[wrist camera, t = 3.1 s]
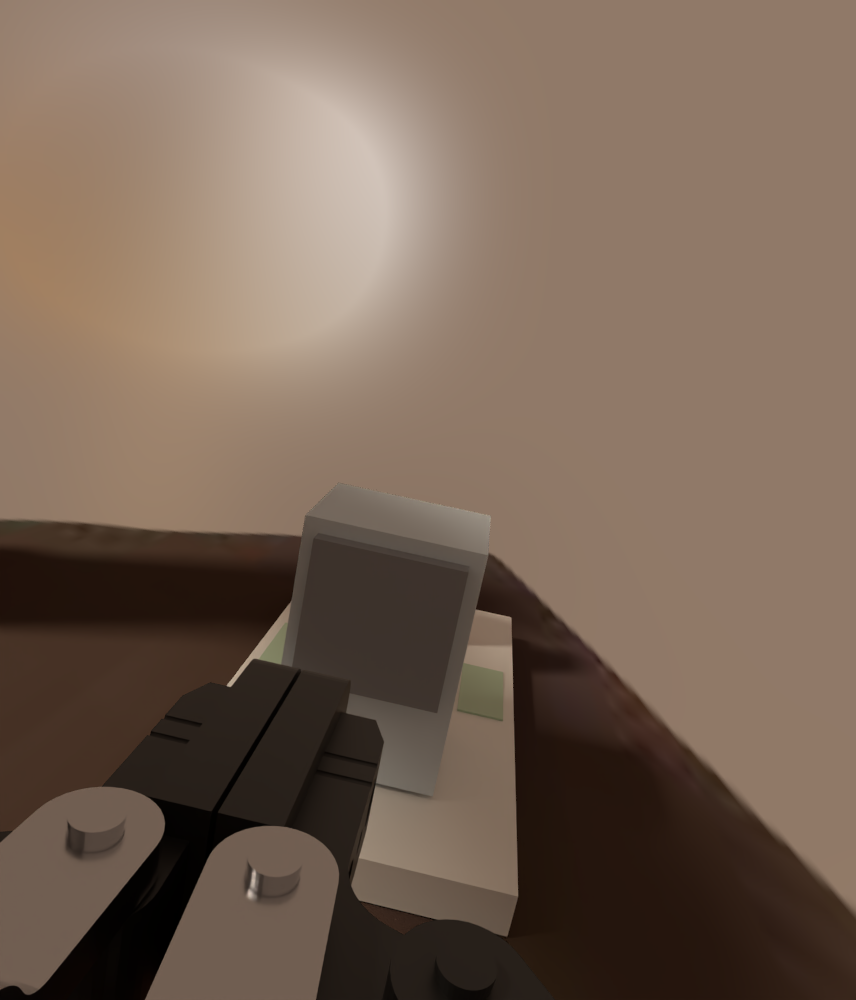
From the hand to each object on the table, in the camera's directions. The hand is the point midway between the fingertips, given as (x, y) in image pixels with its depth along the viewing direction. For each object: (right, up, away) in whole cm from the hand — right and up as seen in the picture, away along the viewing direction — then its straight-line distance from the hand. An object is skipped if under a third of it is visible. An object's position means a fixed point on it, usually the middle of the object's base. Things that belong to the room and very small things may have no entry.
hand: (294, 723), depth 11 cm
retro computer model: (0, -6, +17) cm, 18 cm away
